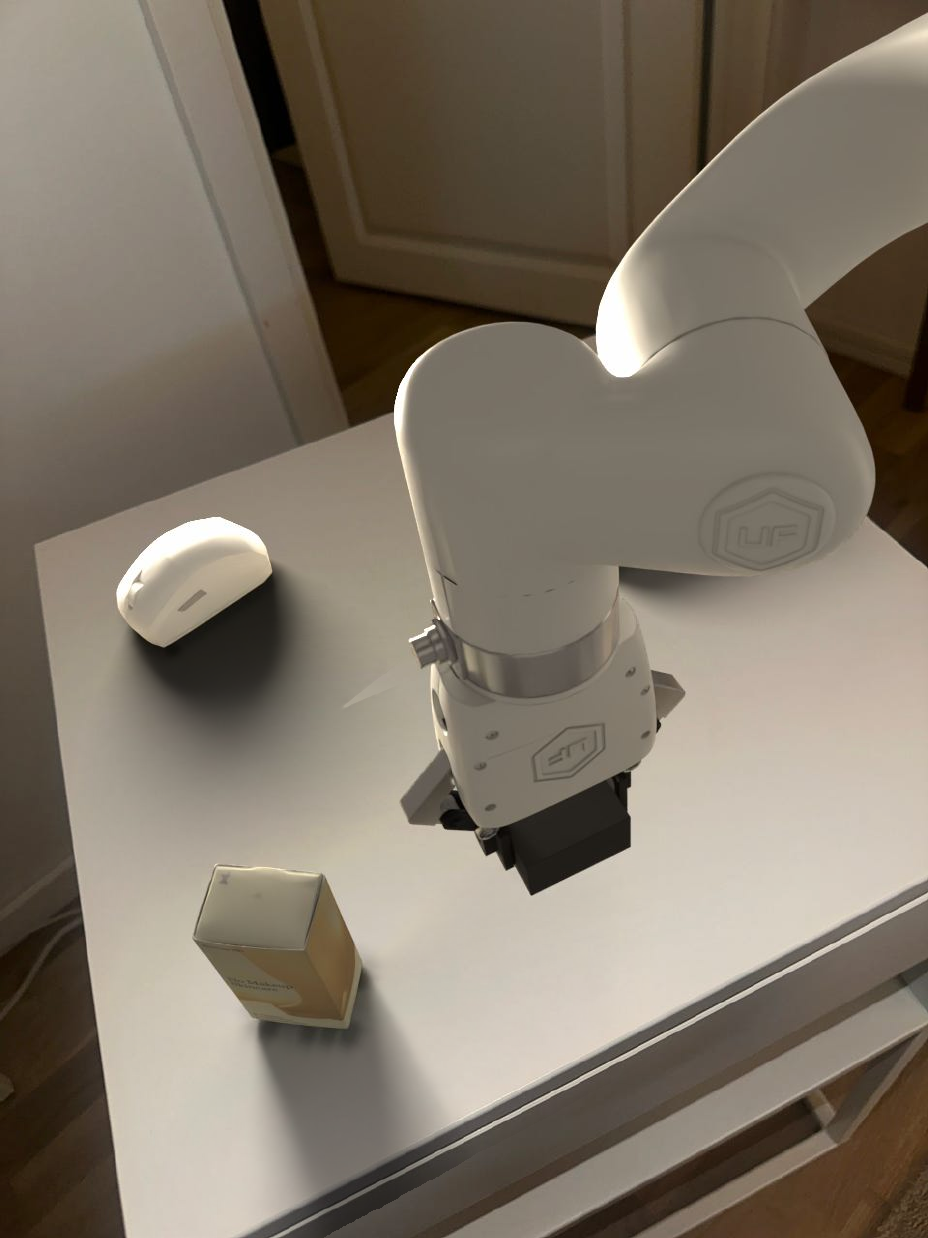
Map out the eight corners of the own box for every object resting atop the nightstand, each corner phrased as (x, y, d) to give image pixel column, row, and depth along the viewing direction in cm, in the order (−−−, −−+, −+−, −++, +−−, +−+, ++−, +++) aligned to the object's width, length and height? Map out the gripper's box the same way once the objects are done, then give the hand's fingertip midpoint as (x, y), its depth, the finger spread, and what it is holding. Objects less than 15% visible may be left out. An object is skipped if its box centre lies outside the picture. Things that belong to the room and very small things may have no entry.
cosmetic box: (250, 1020, 57) (182, 940, 48) (269, 949, 60) (208, 860, 51) (354, 1032, 56) (305, 952, 47) (368, 959, 59) (325, 870, 50)
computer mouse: (117, 617, 81) (87, 565, 76) (244, 534, 85) (223, 481, 81) (155, 658, 77) (126, 607, 72) (285, 570, 82) (266, 516, 77)
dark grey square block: (577, 762, 57) (574, 730, 54) (631, 847, 53) (631, 817, 50) (483, 806, 56) (476, 776, 53) (531, 896, 52) (525, 868, 49)
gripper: (370, 766, 37) (440, 948, 50) (757, 591, 40) (725, 808, 53) (310, 634, 41) (389, 833, 55) (659, 487, 44) (653, 710, 58)
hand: (554, 819), depth 54 cm, fingers closed on dark grey square block, 6 cm apart
